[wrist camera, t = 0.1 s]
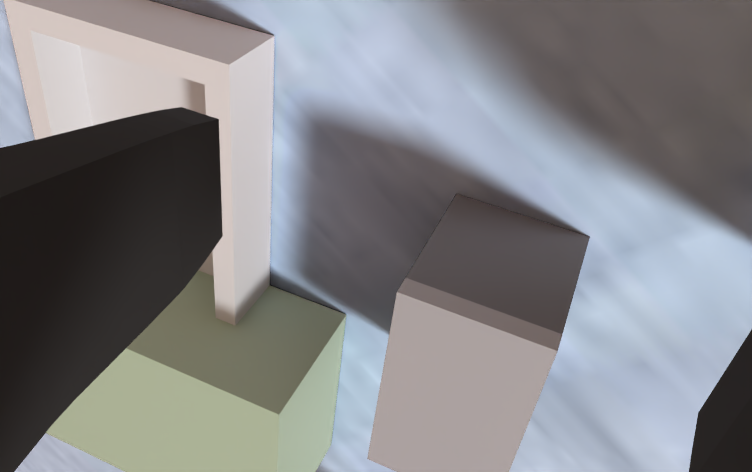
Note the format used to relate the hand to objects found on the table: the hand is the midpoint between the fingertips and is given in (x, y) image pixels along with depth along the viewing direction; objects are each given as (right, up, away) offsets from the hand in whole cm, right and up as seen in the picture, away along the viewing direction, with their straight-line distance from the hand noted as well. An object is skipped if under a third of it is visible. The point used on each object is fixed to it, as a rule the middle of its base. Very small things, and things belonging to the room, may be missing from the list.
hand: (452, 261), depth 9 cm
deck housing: (-8, 0, +17) cm, 19 cm away
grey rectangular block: (+3, -2, +13) cm, 14 cm away
